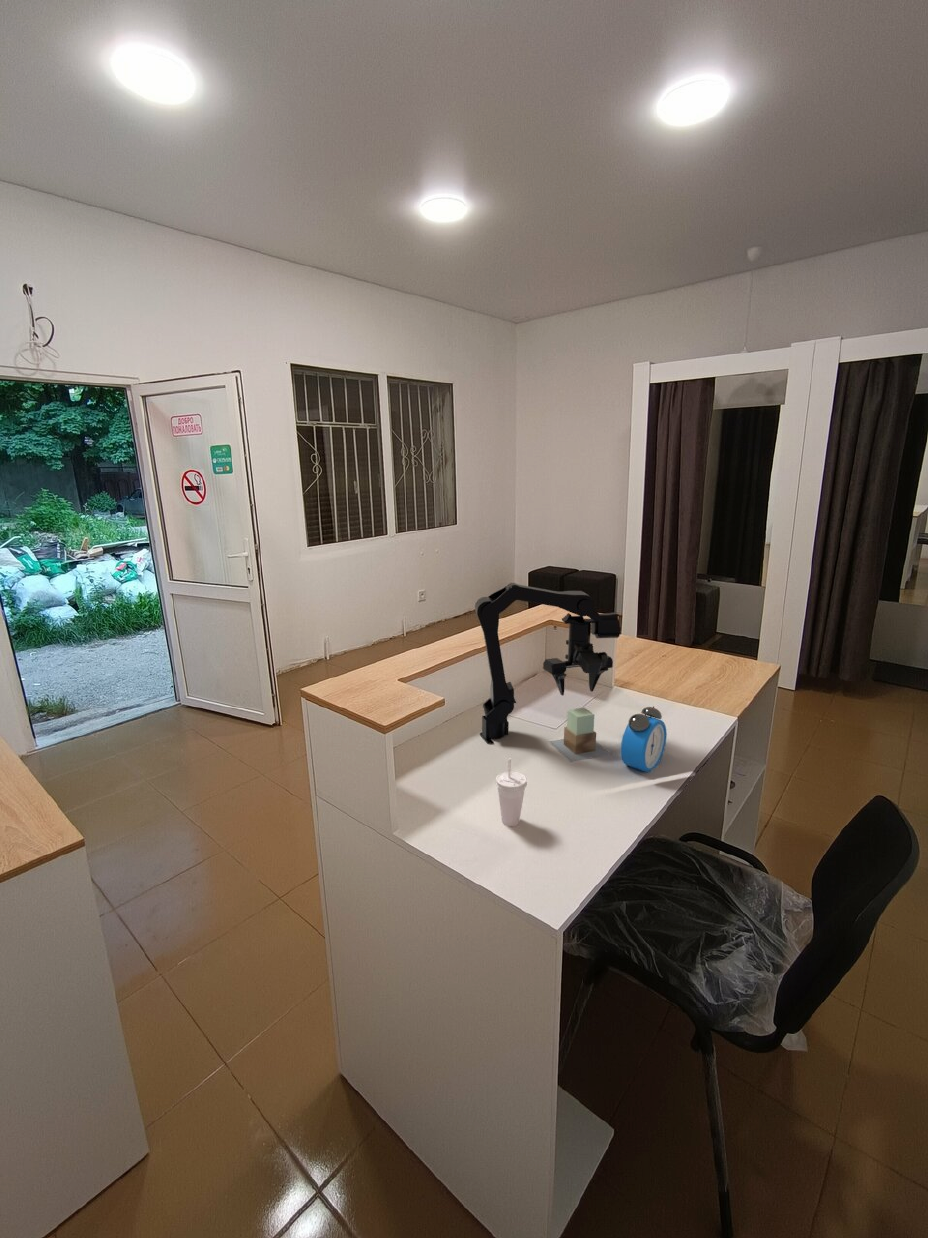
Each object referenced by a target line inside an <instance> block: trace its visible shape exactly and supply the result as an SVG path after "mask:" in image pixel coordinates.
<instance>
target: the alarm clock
mask: <svg viewBox="0 0 928 1238" xmlns="http://www.w3.org/2000/svg"><path fill="white" fill-rule="evenodd" d="M662 717H663V715H662V713H661V711H660V710H659V709H658V708H656V707H655V706H646V707H643V709H642V710H641V712H640V713H636V714H633V715H632V716H630V717H629V719H628V722H627V723H628V724H627V725H626V727H625V730H624V732H623V735H622V740H621V745H620V756H621V760H622V763H623V764H624V765H625V766H628V767H630V768H633V769H637V770H639V771H641V772H644V773H649V772H651V771H652V770H654V769H655V768H656V767H657V766H658V765H659V764H660V762H661V760H662V757H663V755H664V752H665V750H666V749H665V748H666V744H667V735H668V734H667V733H668V732H667V727H666V724H665V722H664V721H663V720H662Z"/></svg>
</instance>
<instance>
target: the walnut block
mask: <svg viewBox="0 0 928 1238" xmlns="http://www.w3.org/2000/svg"><path fill="white" fill-rule="evenodd" d="M563 730H564V731H563V739H564V745H565V746H566V747H567V748H568V749H569V750H571V751H572V752H573V753H574V754H580V753H585V752H591V751H595V749H596V742H597V732H596V731H594V732H593V733H588V734H582V735H575V734H574V733H573V732H572V731H570V730H569V729H568V728H567V726H564V728H563Z"/></svg>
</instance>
